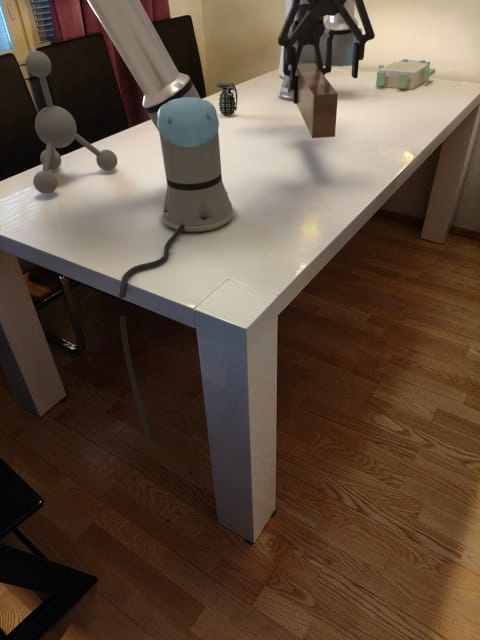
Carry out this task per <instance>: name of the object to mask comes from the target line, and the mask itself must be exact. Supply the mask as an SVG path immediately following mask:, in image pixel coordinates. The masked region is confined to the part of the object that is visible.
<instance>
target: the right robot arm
mask: <svg viewBox="0 0 480 640" xmlns="http://www.w3.org/2000/svg"><path fill="white" fill-rule="evenodd" d="M343 6H344V7H345V8H346V10H347V11H348V13H349V15H350V16H351V18H352V19H353V21H354V22H355V24H356V25H357V26H358V28H359V29H360V31H361V32H362V33H363V29H362V28H361V27H359V21H358V20H357V18H356V17H355V8H356V5H355V1H352V0H346V2H345V3H344V5H343ZM310 7H311V6H310V4H309V3H308V1H307V0H304V2H303V4H302V5H299V9H298V11H297V14H296V16H295V18H294V23H293V26H292V28H291V29H290V30H289V32H288V35H287V37H286V40H288V38H289V37H290V36H291V34H292V33H293V31H294V30H295V29H296V27H297V26H298V24H299V23H300V22H301V20H302V19H303V17H304V16H305V14H306V12H307V11H308V10H309V8H310ZM324 21H325V22H324ZM355 42H358V40H357V38H356V37H355V35H354V34H353V33H352V31H351V30H350V28H349V27H348V25H347V24H346V22H345V21H344V20H343V18H342V17H341V15H340V14H339V13H338V14H336V15H335V16H330V15H327V19H326V20H325V16H323V17H320V16H318V15H315V17H314V18H313V19H312V20H311V21H310V23H309V24H308V25H307V27H306V28H305V30H304V31H303V32H302V34H301V35H300V37H299V38H298V39H297V41H296V42H295V43H294V45H293V46H292V47H295V48H296V70H297V66H298V64H308V63H315V64H316V66H317V67H318V68H319V70H320V71H321V72H322V74H323V75H324V76H325V75H326V74H329V73H331V72H332V68H333V67H341V68H343V67H352V62H353V49H354V43H355ZM283 73H284V75H285V76H284V78H283V80H282V84H281V87H280V91H279V98H280V99H282V100H285V101H292V102H293V104H294V105H297V83H298V78H297V76H295V82H292V81H291V65H287V63H286V47H284V51H283ZM295 74H296V73H295Z"/></svg>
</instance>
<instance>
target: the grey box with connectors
mask: <svg viewBox="0 0 480 640" xmlns="http://www.w3.org/2000/svg"><path fill="white" fill-rule="evenodd" d="M430 66H431V61H428V60H427V61H426V60H425V59H421V60H415V59H414V60H413V59H408V58H403V59H401V60H399V61H393V62H391V63H389V64H387V65H384V64H379V65H378V69H377V73H376V81H375V86H376V87H384V88H394V89H395V88H397V89H406V90H413V89H415V88H417V87H418V86H420V85H421V84H423V83H426V82H429V79H430V77H431V76H433V75H435V74H436V70H437V68H430Z"/></svg>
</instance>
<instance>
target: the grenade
mask: <svg viewBox="0 0 480 640" xmlns="http://www.w3.org/2000/svg"><path fill="white" fill-rule="evenodd" d="M215 87H217V88H219V89H221V93H219V97H218V101H219V102H218V106H219V108H218V109H219V112H220V114H221V115H222V116H224V117H231V116H233V115H234V113H235V112H236V111H237V108H238V89H237V87H236V85H235V84H234V83H233V82H218V83H217V84H216V86H215ZM232 91H233V92H232ZM234 94H235V96H234Z"/></svg>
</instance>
